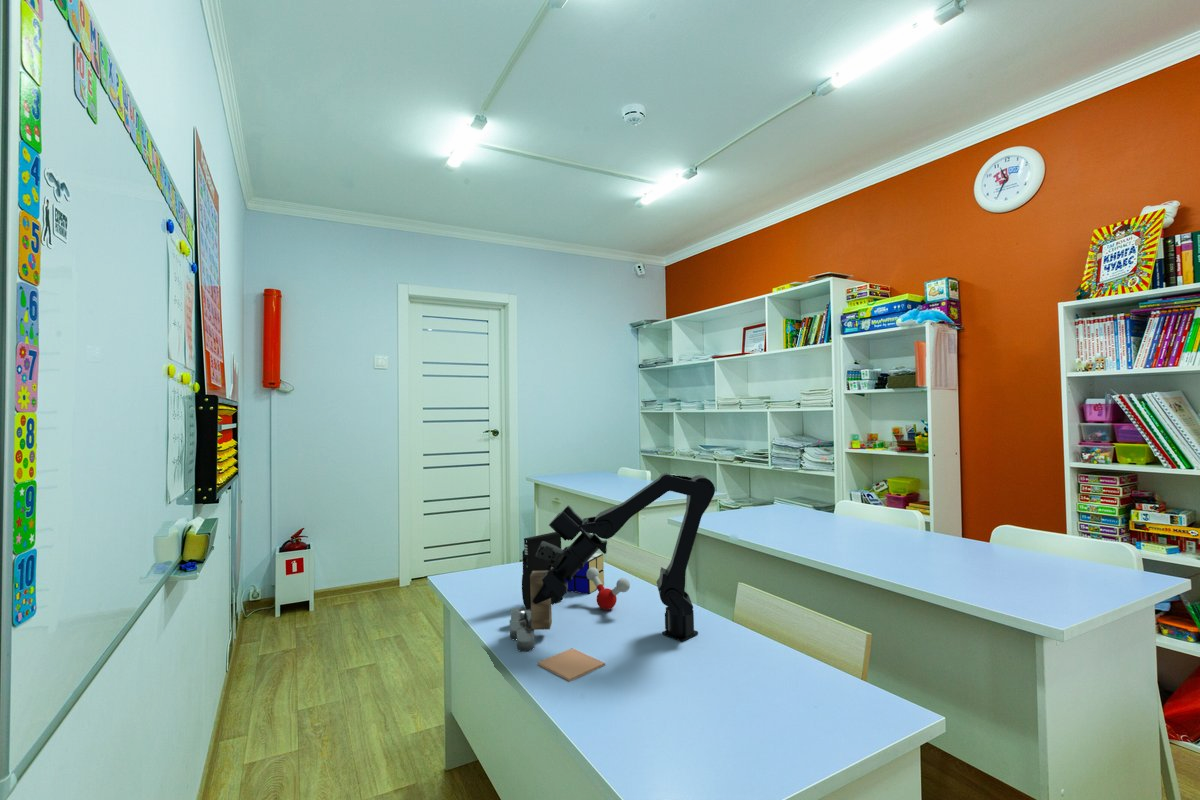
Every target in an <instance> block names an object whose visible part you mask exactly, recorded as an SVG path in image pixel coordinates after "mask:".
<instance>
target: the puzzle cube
mask: <svg viewBox="0 0 1200 800" xmlns="http://www.w3.org/2000/svg"><path fill="white" fill-rule="evenodd" d="M604 560H605V559H604V553H602V552H600V553H599V552H595V554H594V555H593V556H592V557H591V558H590V559H589V560H588V561H587V562H586V563H585V564H584V567H583V568H582V569H581V570H579V571H578V572H577V573H576V574H575V575H574V576H573V578H572V580H571V581H570V582H568V581H567V580H566V579H565V581H567V582H568V589H567V590H568V591H567V592H571V591H576V592H575V593H578V592H581V593H580V594H584V593H587V594H586V595H590V594H591V592H592V593H593V592H594V591H596V590H598V589H597V587H596V586H595V584H594V582H593V581H591V580H589V579H588V578H587V571H588V569H589V568H592V567H594V568H596V569H597V570H598V571H599V577H598V578H599V579H600V581H601V583H602V585H603V586H604V585H605V571H604V569H605V567H604V566H605V565H604Z"/></svg>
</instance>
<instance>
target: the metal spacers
mask: <svg viewBox="0 0 1200 800" xmlns="http://www.w3.org/2000/svg"><path fill="white" fill-rule="evenodd" d="M526 627H527V628H526ZM510 638H511V639H510ZM509 639H510V640H512V639H514V640H513V641H516V646H517V647H516V650H517V649H518V650H517V651H519V650H520V651H519V652H522V651H526V652H530V651H529V650H531V651H533V650H534V649H535V630H534V629H532V624H531V609H526V608H525V607H515V608H512V609H511V610H510V620H509ZM516 639H517V640H516ZM533 648H534V649H533ZM532 649H533V650H532Z"/></svg>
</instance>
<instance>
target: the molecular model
mask: <svg viewBox="0 0 1200 800" xmlns="http://www.w3.org/2000/svg"><path fill="white" fill-rule="evenodd" d="M598 577H599V571H598V570H597V569H596V568H594V567H592V568H589V569H588V571H587V578H588V579H589V580H591V581H593V582H594V584H595V586H596V587H597V589H596V590H597V591H598V593H597V595H596V603H597V605H598V607H599V608H601V609H602V610H611V609H613V608H614V607H615V606H616V603H617V599H618V598H617V596H618V595H619V594H620V593H626V592H628V591H629V590H630V587H631V583H630V580H628V579H627V578H625V577H621V578H619V579H618V580H617V581H616V585H615V587H614V588H605V586H604V585H602V583H601V581H600V579H599V578H598Z"/></svg>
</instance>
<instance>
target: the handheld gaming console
mask: <svg viewBox="0 0 1200 800" xmlns="http://www.w3.org/2000/svg"><path fill="white" fill-rule="evenodd" d="M523 541H524V542H523V544H524V545H523V546H524V547H523V548H524V549H523V550H522V575H521V593H522V602H523V606H524V608H525V609H526V610H528V609H531V594H530V575H531V573H532V571H547V567H548V565H550V566H551V565H552V564H553V563H552V564H551V563H550V562H548V561H546V560H544V559H539V558H537V557H536V553H537V551H538V548H539V546H540V544H541V542H542V541H545V542H548V543H550V544H552V545H554V546H557V547H558V548H560V549H562V537H561V536H560V535H559V534H557V533H556V532H555V531H552V532H548V533H542V534H538V535H534V536H529V537H525V538H523ZM563 600H564V596H563V597H562V598H559V597H558V596H555V597H552V598H551V604H552V605H554V603H555V604H557V603H559V602H561V601H563Z"/></svg>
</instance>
